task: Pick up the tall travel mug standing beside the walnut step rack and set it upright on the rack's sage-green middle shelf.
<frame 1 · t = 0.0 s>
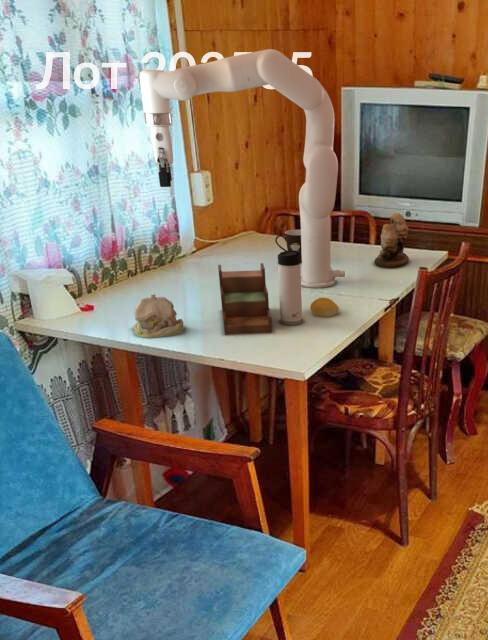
hand: (166, 183, 222), 31 cm above the table, tool pointing down, fingers open, 9 cm apart
travel mug: (292, 322, 214), on the table
step rack: (246, 321, 214), on the table
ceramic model: (158, 331, 206), on the table
bread roll: (324, 313, 221), on the table
coffee mug: (294, 260, 270), on the table
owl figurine: (392, 262, 271), on the table
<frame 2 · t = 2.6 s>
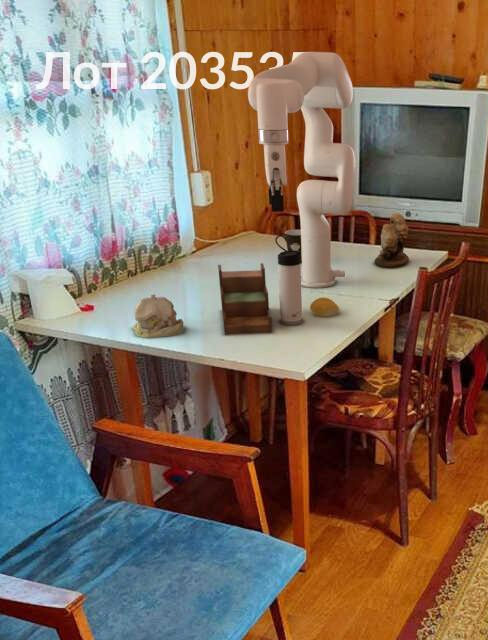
hand: (276, 207, 199), 31 cm above the table, tool pointing down, fingers open, 9 cm apart
nothing on the table moved.
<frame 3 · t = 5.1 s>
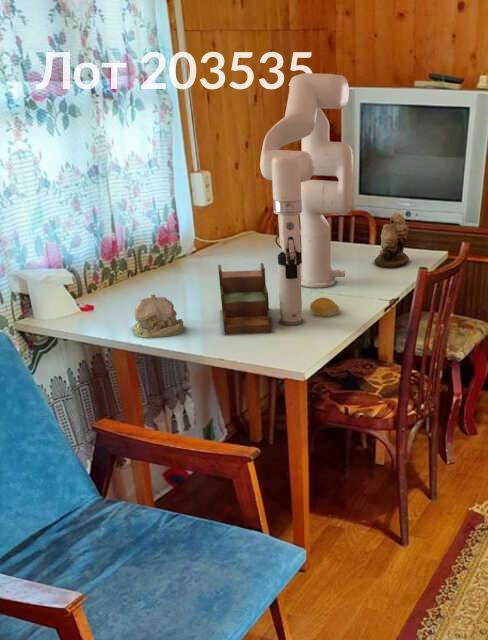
hand: (290, 274, 206), 14 cm above the table, tool pointing down, fingers closed on travel mug, 6 cm apart
travel mug: (292, 322, 214), on the table, touching gripper
everything else where it was.
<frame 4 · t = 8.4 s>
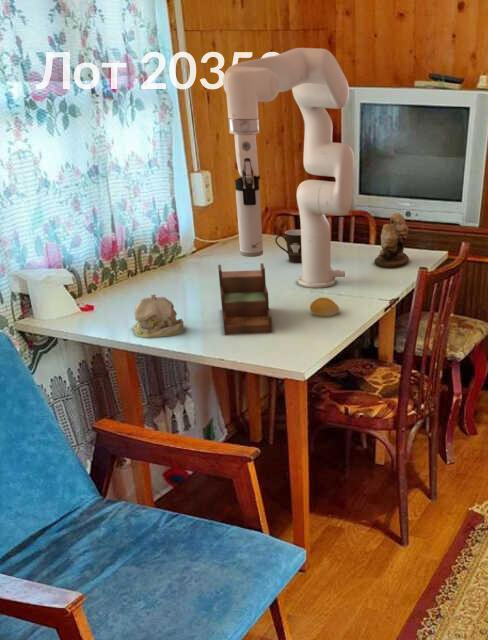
hand: (248, 201, 196), 32 cm above the table, tool pointing down, fingers closed on travel mug, 6 cm apart
travel mug: (252, 254, 204), point 19 cm above the table, touching gripper
everything else where it was.
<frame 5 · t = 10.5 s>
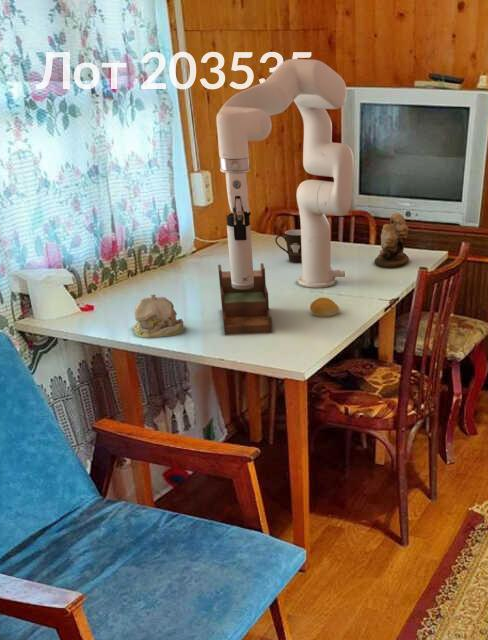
hand: (239, 236, 201), 23 cm above the table, tool pointing down, fingers closed on travel mug, 6 cm apart
travel mug: (243, 287, 209), point 10 cm above the table, touching gripper
everything else where it was.
when the fingers open (21 cm above the table, at t = 11.8 s): travel mug stays where it is, resting on step rack.
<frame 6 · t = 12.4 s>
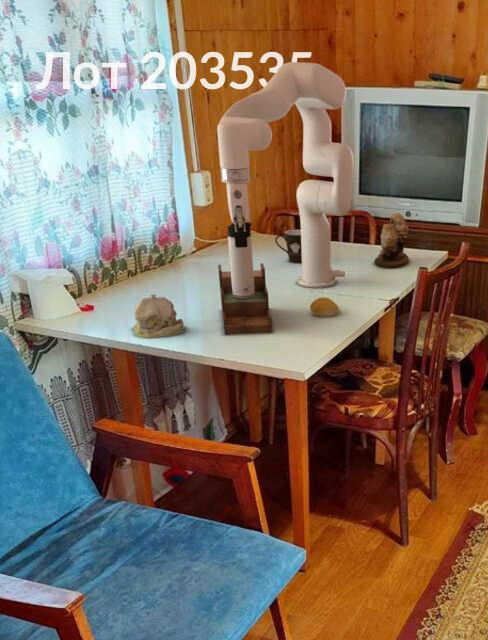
hand: (240, 242, 202), 22 cm above the table, tool pointing down, fingers open, 9 cm apart
travel mug: (244, 297, 210), point 7 cm above the table, touching step rack
everything else where it was.
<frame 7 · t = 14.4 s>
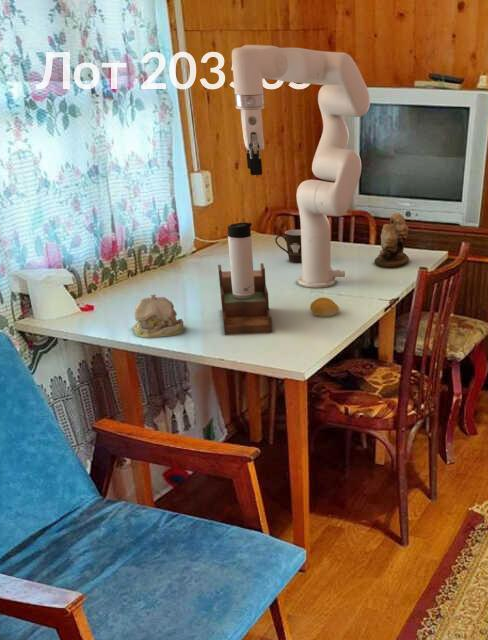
hand: (254, 171, 207), 37 cm above the table, tool pointing down, fingers open, 9 cm apart
nothing on the table moved.
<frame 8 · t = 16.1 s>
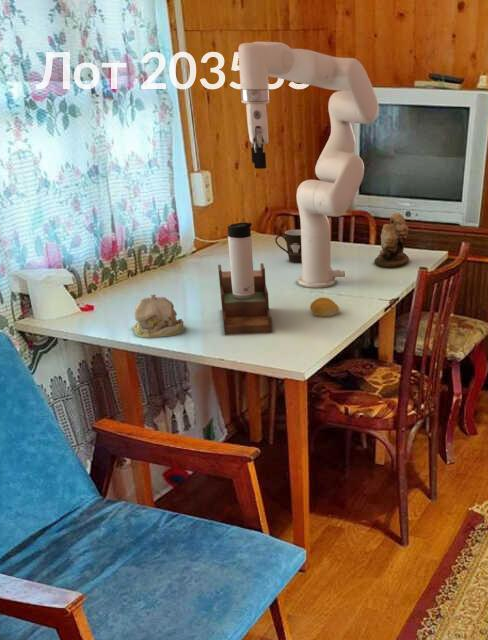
hand: (259, 165, 210), 38 cm above the table, tool pointing down, fingers open, 9 cm apart
nothing on the table moved.
at the end: travel mug inside the target area on the step rack (0.0 cm from its centre), point 6.8 cm above the step rack's base; travel mug tilted 0°; the gripper is holding nothing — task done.
